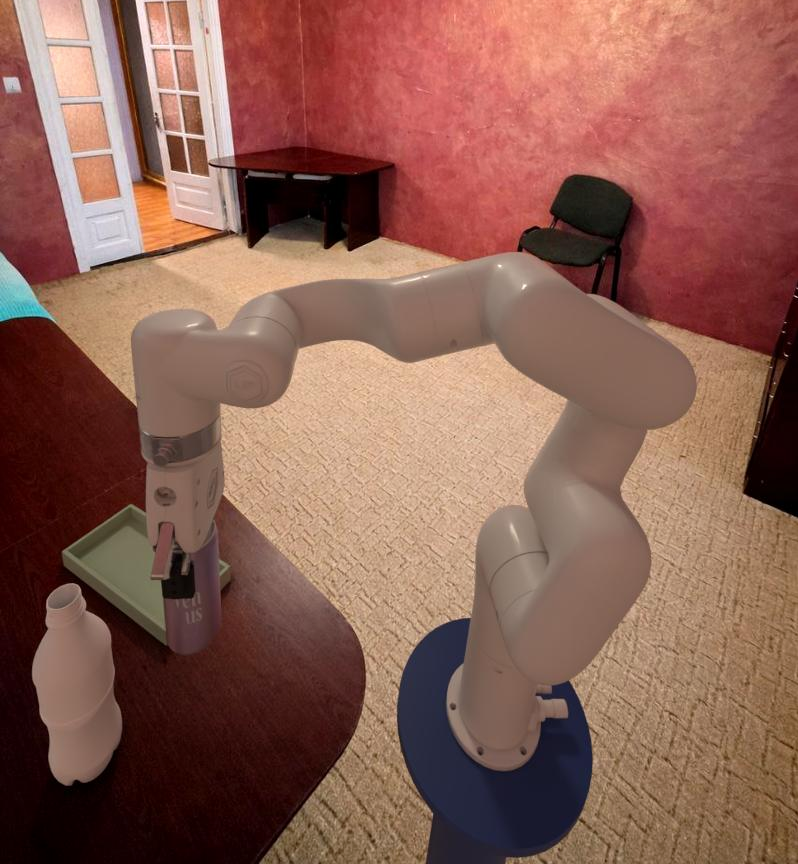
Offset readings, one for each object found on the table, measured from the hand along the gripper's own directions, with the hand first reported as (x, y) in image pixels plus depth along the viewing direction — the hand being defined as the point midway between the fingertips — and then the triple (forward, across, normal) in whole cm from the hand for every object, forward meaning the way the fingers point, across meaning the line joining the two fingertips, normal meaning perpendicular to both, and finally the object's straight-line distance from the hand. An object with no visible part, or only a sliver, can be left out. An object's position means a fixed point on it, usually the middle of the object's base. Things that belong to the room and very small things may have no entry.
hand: (190, 566), depth 54 cm
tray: (+25, +21, +15) cm, 36 cm away
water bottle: (+26, -3, +12) cm, 28 cm away
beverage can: (+10, 0, 0) cm, 10 cm away
